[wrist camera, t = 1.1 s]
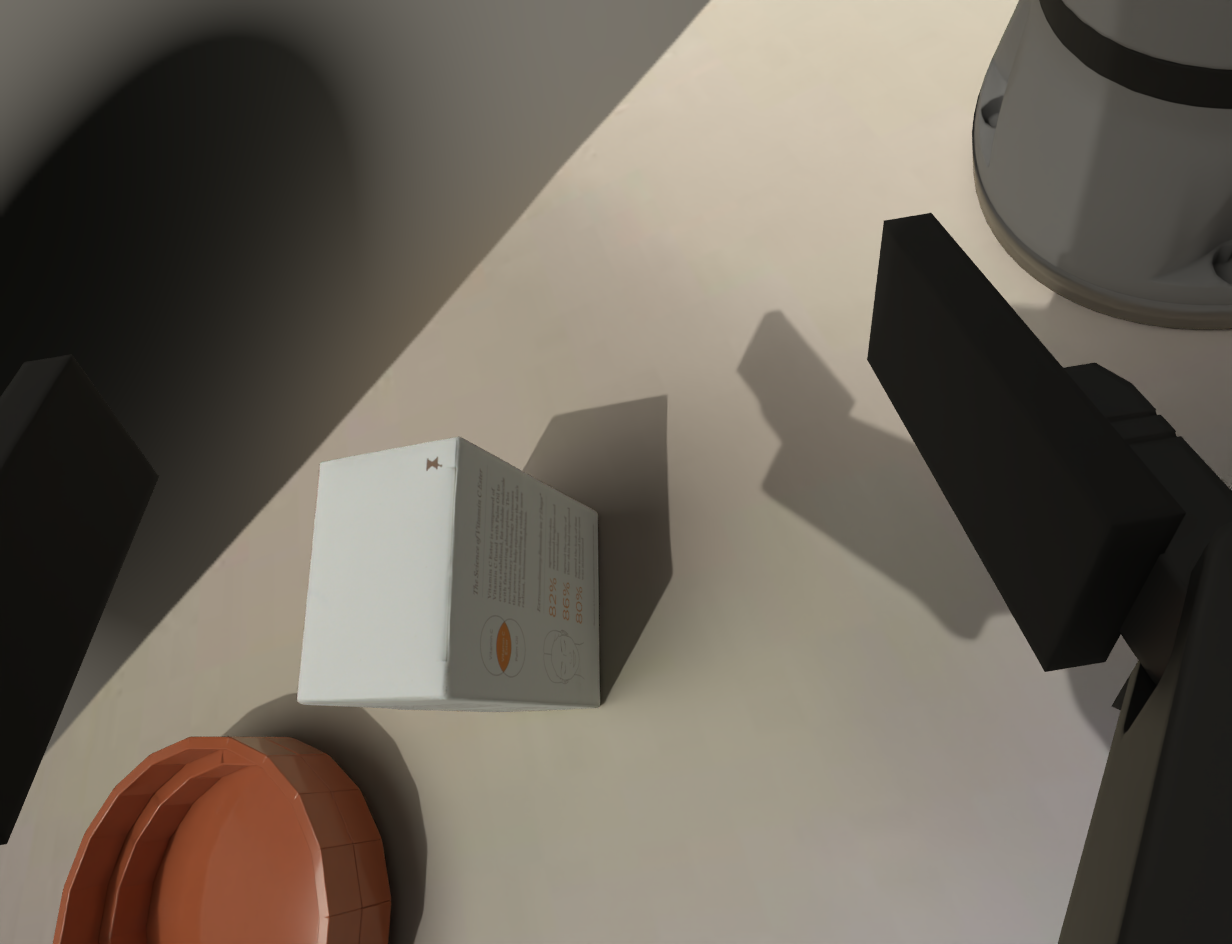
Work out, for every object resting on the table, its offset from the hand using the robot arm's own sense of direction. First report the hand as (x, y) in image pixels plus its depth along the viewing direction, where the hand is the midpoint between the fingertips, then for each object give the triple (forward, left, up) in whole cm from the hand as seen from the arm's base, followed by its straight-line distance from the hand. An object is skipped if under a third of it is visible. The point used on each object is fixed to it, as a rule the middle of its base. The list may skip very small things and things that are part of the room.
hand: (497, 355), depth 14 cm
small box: (+9, -5, -20) cm, 22 cm away
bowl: (+27, -3, -19) cm, 33 cm away
